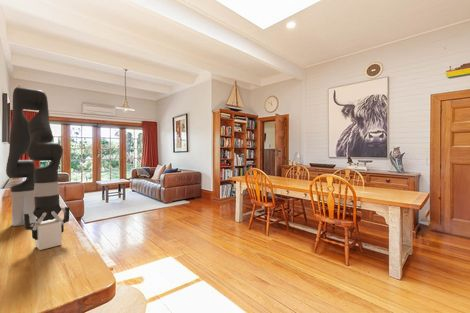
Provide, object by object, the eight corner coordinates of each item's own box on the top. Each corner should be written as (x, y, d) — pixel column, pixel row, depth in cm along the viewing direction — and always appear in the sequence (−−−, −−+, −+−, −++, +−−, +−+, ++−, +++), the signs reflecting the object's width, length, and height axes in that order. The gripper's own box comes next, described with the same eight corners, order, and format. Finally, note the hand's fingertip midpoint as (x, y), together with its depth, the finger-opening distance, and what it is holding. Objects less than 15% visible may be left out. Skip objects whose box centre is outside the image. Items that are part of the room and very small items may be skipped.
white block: (35, 245, 89) (34, 222, 89) (57, 240, 94) (56, 218, 94) (39, 250, 84) (38, 226, 84) (61, 244, 89) (61, 222, 89)
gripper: (66, 190, 97) (67, 229, 97) (20, 195, 86) (21, 240, 86) (72, 192, 92) (73, 233, 92) (23, 198, 81) (25, 244, 81)
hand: (48, 236), depth 89 cm, fingers closed on white block, 6 cm apart
